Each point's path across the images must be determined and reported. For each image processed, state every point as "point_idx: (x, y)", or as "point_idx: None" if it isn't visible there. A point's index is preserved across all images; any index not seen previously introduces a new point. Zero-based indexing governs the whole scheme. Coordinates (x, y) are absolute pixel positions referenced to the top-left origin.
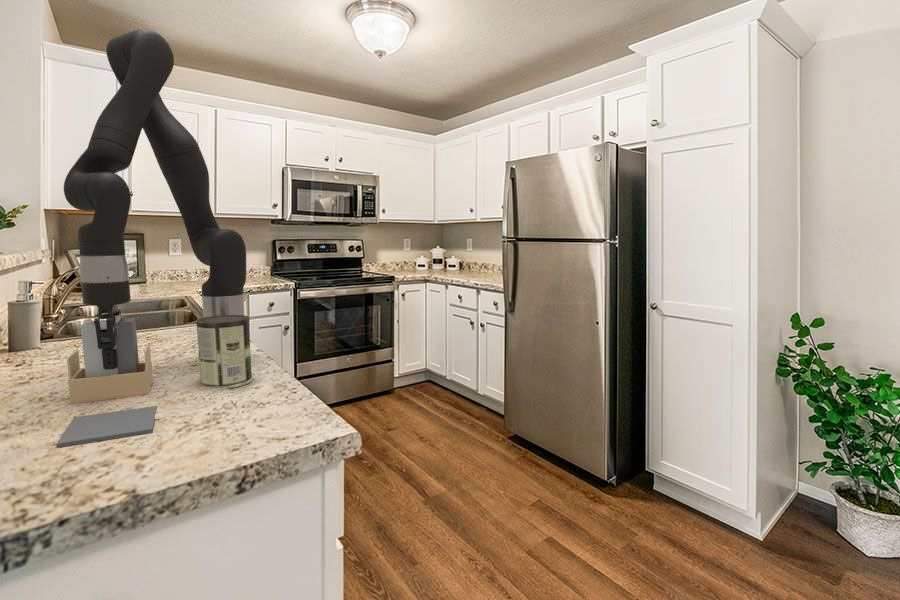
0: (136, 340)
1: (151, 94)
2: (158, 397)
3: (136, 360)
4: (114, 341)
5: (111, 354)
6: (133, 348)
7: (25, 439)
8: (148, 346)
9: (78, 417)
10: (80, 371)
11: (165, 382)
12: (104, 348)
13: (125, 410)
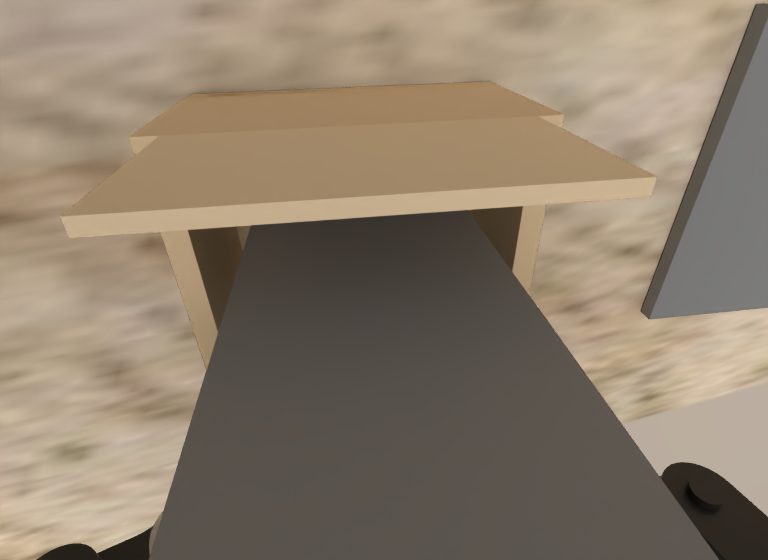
0: (268, 385)
1: None
2: (527, 21)
3: (419, 242)
4: (715, 531)
5: None
6: (544, 327)
7: (717, 374)
8: (281, 199)
9: (665, 306)
10: None
11: (149, 4)
12: None
13: (717, 160)
